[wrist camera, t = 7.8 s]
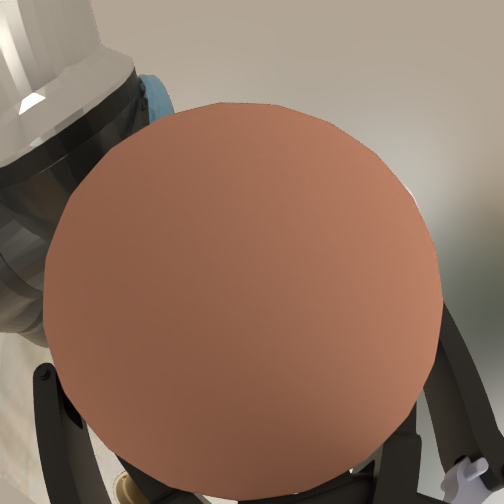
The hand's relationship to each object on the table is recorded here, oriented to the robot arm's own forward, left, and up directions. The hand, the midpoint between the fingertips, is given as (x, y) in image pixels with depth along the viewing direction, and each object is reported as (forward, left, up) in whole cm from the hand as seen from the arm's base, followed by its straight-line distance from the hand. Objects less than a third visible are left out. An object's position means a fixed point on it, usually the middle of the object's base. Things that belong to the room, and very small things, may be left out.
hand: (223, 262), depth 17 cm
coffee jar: (0, -3, -8) cm, 8 cm away
